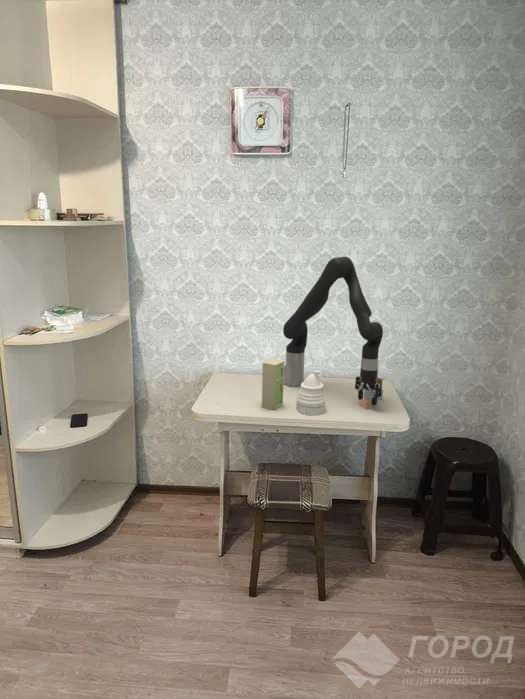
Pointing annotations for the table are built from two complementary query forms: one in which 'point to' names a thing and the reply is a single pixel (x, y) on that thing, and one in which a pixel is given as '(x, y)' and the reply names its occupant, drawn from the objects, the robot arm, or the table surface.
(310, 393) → the honey pot
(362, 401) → the terracotta block
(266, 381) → the toy refrigerator
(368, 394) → the slate block
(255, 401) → the table surface
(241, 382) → the table surface
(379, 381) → the walnut block
